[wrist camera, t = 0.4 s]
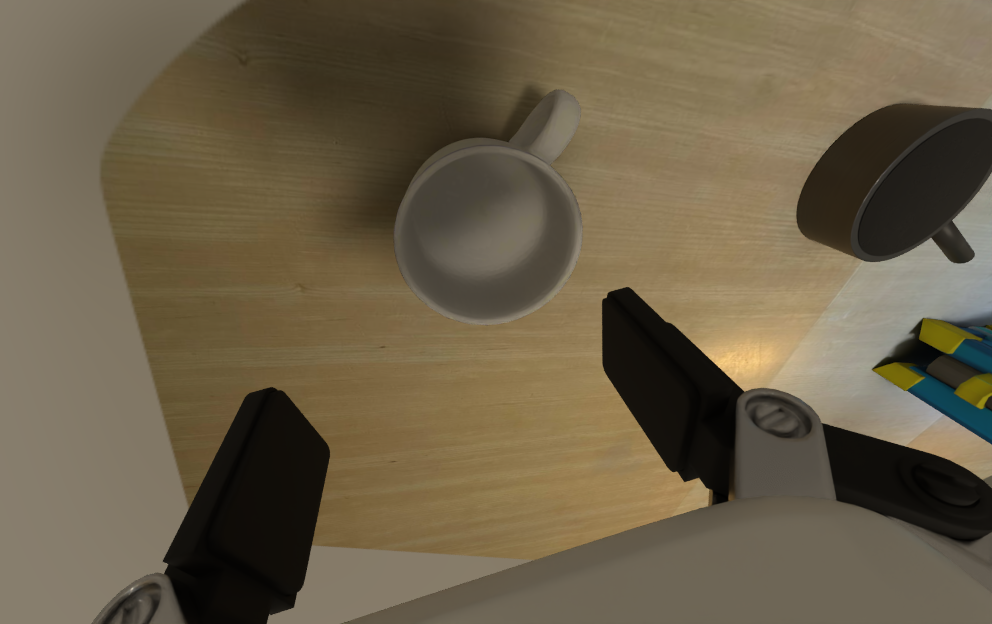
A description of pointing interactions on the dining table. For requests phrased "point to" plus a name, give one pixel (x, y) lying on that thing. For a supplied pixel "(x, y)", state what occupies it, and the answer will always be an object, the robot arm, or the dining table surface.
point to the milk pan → (899, 182)
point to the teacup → (493, 221)
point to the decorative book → (952, 375)
